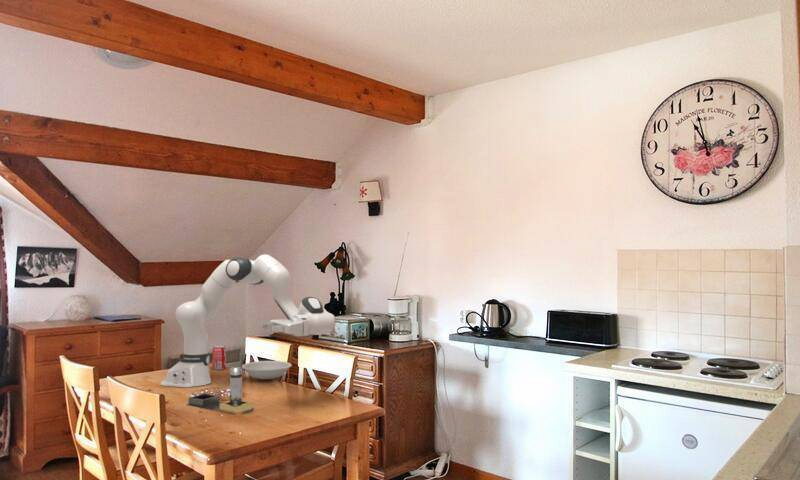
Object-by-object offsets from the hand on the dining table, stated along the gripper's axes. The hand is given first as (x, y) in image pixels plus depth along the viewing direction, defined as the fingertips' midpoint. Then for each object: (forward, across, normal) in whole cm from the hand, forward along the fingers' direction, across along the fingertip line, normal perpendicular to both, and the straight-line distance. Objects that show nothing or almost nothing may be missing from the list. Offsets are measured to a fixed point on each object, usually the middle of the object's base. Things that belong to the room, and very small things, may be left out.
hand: (267, 327), depth 227 cm
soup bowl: (-20, -51, +32) cm, 64 cm away
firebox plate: (+16, -8, +32) cm, 37 cm away
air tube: (+12, 0, +31) cm, 33 cm away
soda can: (-7, -86, +32) cm, 92 cm away
